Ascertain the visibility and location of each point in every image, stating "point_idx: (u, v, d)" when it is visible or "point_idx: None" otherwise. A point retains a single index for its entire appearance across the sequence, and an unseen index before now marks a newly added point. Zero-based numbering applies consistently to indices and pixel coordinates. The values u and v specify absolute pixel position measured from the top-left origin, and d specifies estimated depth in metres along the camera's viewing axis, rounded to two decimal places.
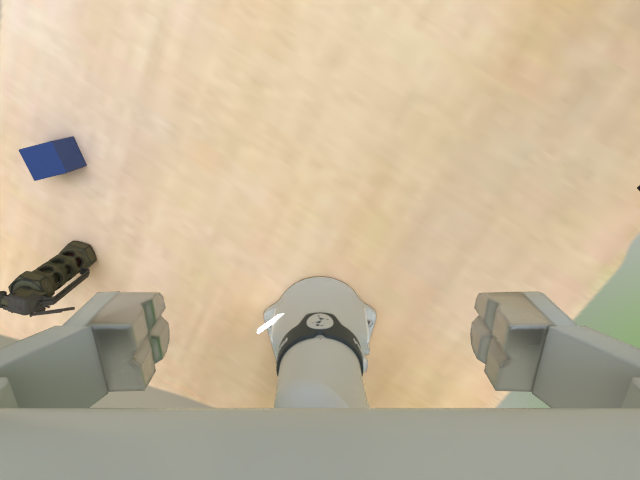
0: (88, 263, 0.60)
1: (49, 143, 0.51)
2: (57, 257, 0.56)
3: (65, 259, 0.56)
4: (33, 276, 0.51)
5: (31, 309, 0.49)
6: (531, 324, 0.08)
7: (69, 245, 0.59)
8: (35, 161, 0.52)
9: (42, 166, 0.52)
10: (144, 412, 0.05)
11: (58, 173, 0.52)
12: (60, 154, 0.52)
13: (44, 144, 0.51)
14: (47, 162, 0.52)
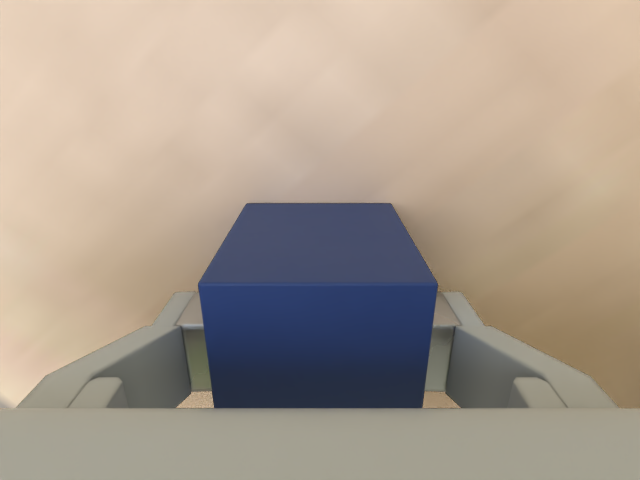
0: None
1: (210, 302, 0.07)
2: None
3: None
4: None
5: None
6: (439, 324, 0.08)
7: None
8: None
9: (346, 404, 0.08)
10: (144, 412, 0.05)
11: (423, 336, 0.07)
12: (301, 267, 0.07)
13: (212, 334, 0.07)
14: (330, 366, 0.08)
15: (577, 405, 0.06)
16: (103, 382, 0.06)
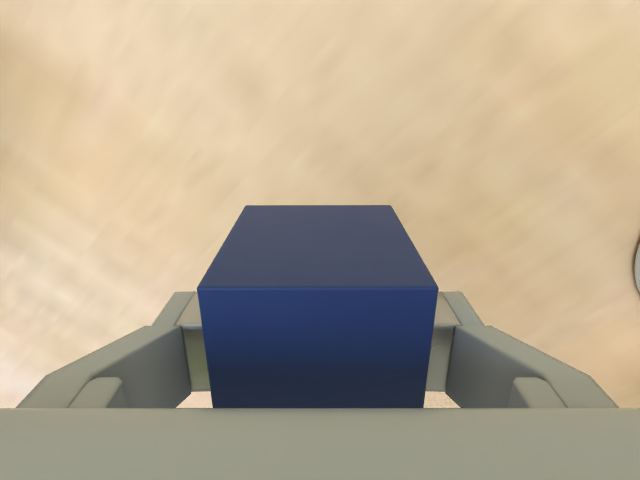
0: None
1: (209, 306, 0.07)
2: None
3: None
4: None
5: None
6: (438, 324, 0.08)
7: None
8: None
9: None
10: (144, 412, 0.05)
11: (423, 340, 0.07)
12: (301, 271, 0.07)
13: (211, 339, 0.07)
14: (330, 370, 0.07)
15: (577, 405, 0.06)
16: (103, 382, 0.06)
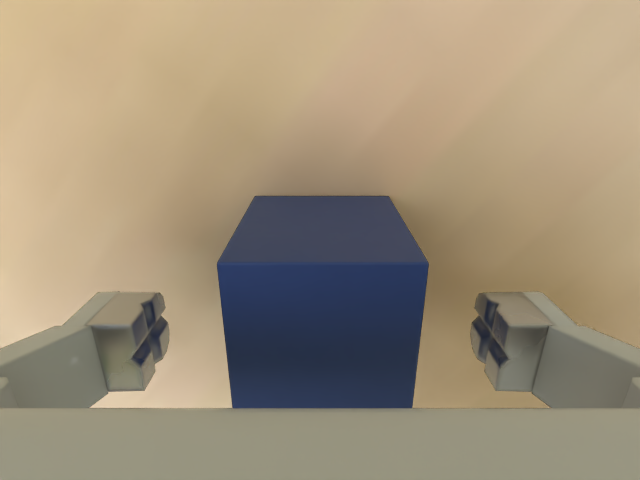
0: None
1: (227, 279, 0.08)
2: None
3: None
4: None
5: None
6: (531, 324, 0.08)
7: None
8: (313, 393, 0.09)
9: (347, 374, 0.09)
10: (145, 411, 0.05)
11: (416, 311, 0.08)
12: (308, 250, 0.08)
13: (229, 309, 0.08)
14: (333, 338, 0.08)
15: None
16: None
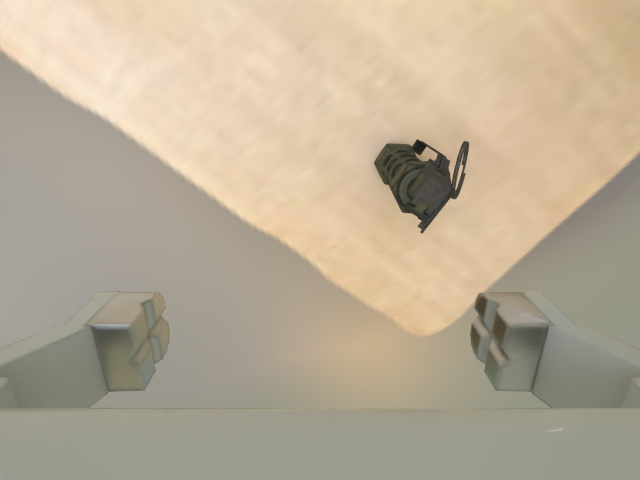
0: (409, 149, 0.43)
1: None
2: (386, 168, 0.41)
3: (392, 158, 0.40)
4: (399, 173, 0.35)
5: (445, 179, 0.32)
6: (531, 324, 0.08)
7: (377, 163, 0.44)
8: None
9: None
10: (144, 412, 0.05)
11: None
12: None
13: None
14: None
15: None
16: None
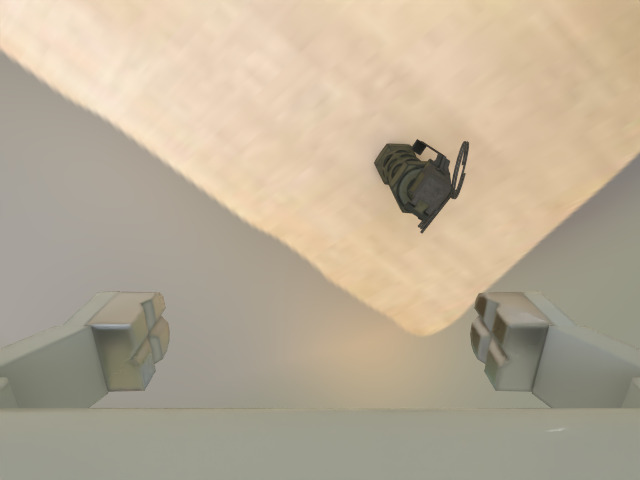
0: (409, 149, 0.43)
1: None
2: (386, 168, 0.41)
3: (392, 158, 0.40)
4: (399, 173, 0.35)
5: (445, 179, 0.32)
6: (531, 324, 0.08)
7: (377, 163, 0.44)
8: None
9: None
10: (144, 412, 0.05)
11: None
12: None
13: None
14: None
15: None
16: None
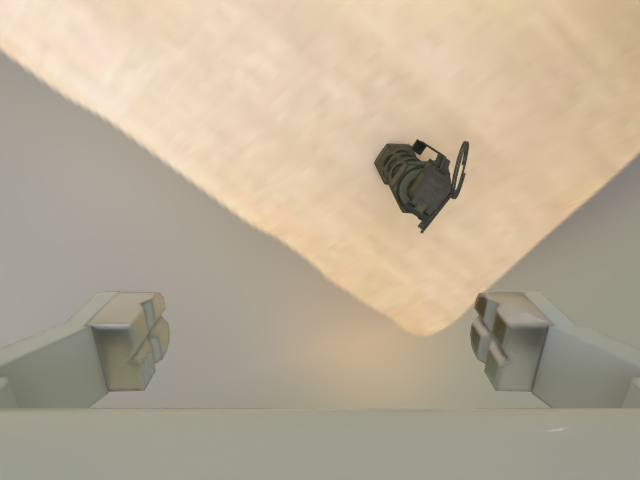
0: (409, 149, 0.43)
1: None
2: (386, 168, 0.41)
3: (392, 158, 0.40)
4: (399, 173, 0.35)
5: (445, 179, 0.32)
6: (531, 324, 0.08)
7: (377, 163, 0.44)
8: None
9: None
10: (144, 412, 0.05)
11: None
12: None
13: None
14: None
15: None
16: None
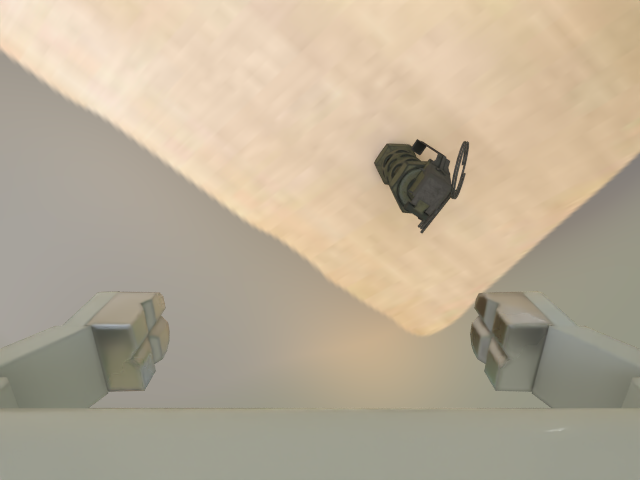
0: (409, 149, 0.43)
1: None
2: (386, 168, 0.41)
3: (392, 158, 0.40)
4: (399, 173, 0.35)
5: (445, 179, 0.32)
6: (531, 324, 0.08)
7: (377, 163, 0.44)
8: None
9: None
10: (144, 412, 0.05)
11: None
12: None
13: None
14: None
15: None
16: None
